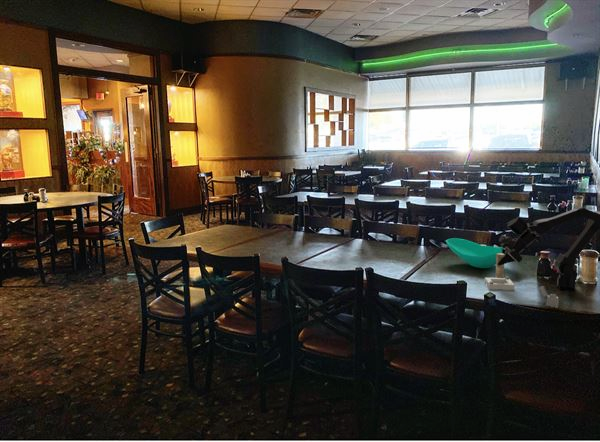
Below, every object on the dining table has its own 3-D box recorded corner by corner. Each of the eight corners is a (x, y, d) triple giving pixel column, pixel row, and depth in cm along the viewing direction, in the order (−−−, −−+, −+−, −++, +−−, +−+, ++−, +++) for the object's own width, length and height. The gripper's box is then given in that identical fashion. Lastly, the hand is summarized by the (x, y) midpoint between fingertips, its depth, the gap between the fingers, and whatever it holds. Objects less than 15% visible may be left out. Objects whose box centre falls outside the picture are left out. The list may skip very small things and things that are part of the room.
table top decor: (436, 266, 260) (436, 243, 258) (456, 256, 281) (457, 235, 278) (511, 278, 234) (512, 253, 232) (526, 266, 255) (528, 242, 253)
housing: (508, 283, 227) (508, 276, 227) (514, 290, 217) (514, 283, 216) (484, 282, 229) (485, 275, 229) (489, 289, 219) (489, 282, 218)
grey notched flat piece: (558, 306, 194) (559, 288, 193) (557, 308, 193) (558, 289, 191) (539, 303, 199) (540, 285, 197) (538, 304, 198) (539, 286, 196)
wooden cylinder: (502, 276, 224) (503, 253, 222) (503, 278, 221) (504, 254, 219) (495, 276, 224) (496, 253, 222) (497, 278, 221) (497, 254, 219)
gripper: (505, 225, 227) (481, 247, 231) (515, 233, 209) (489, 257, 213) (522, 241, 227) (497, 263, 230) (533, 250, 209) (506, 274, 212)
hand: (497, 263), depth 221 cm, fingers closed on wooden cylinder, 3 cm apart
